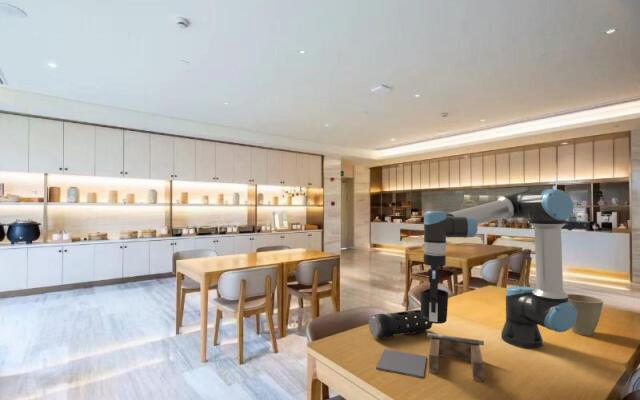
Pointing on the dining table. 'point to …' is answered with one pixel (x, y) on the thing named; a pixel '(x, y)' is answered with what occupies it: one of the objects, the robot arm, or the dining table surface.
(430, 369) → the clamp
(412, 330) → the muzzle brake
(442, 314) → the pen holder
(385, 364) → the mat
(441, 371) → the dining table surface
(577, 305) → the plant pot
